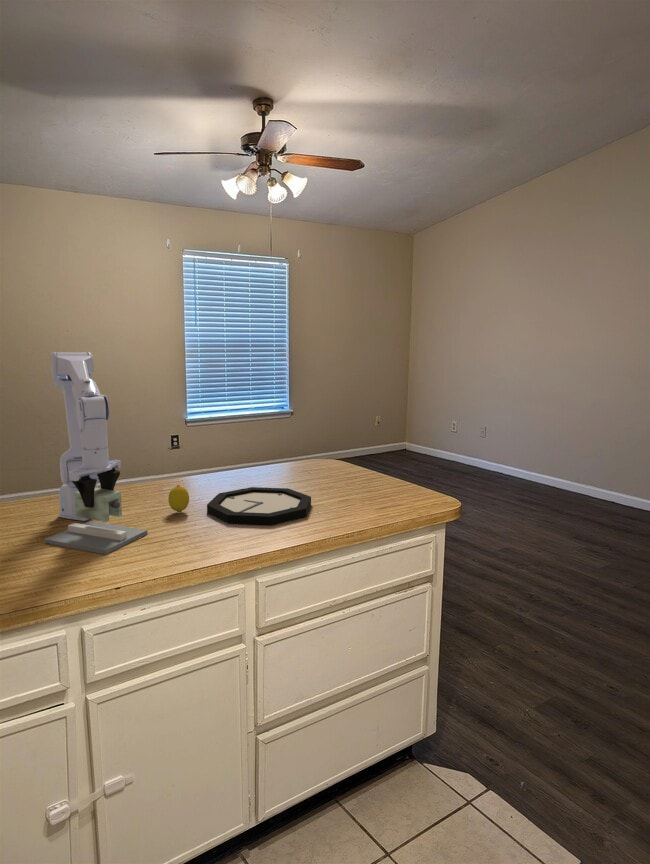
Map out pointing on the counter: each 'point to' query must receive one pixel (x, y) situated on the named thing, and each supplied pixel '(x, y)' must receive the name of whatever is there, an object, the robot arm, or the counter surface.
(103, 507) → the cabinet block
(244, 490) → the wall clock
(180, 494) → the lemon
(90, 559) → the counter surface
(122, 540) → the cleat board
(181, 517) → the counter surface
